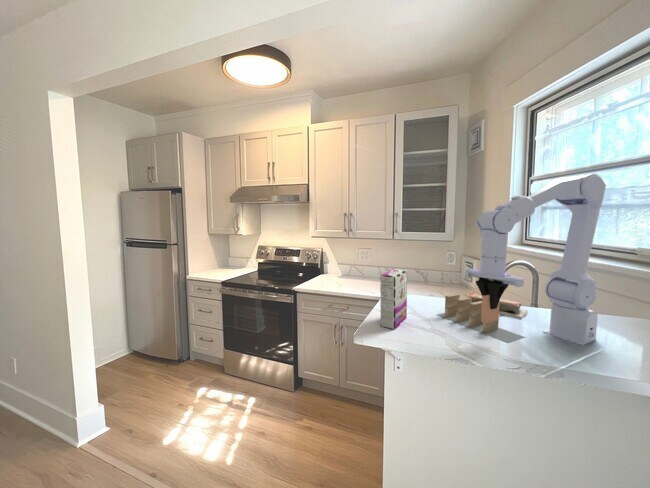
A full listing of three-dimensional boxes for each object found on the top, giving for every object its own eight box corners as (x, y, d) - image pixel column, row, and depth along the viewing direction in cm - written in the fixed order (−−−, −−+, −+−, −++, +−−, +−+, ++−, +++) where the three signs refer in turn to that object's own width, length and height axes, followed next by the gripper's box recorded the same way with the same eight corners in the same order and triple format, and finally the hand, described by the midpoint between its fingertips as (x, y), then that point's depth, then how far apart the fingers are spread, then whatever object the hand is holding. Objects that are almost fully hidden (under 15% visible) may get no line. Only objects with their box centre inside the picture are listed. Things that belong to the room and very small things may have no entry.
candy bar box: (392, 315, 98) (393, 268, 96) (406, 318, 95) (408, 269, 94) (379, 326, 89) (379, 274, 87) (394, 330, 86) (395, 276, 84)
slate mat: (525, 338, 80) (525, 337, 80) (507, 344, 76) (507, 343, 76) (452, 312, 101) (452, 311, 101) (435, 316, 98) (435, 314, 98)
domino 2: (470, 319, 93) (471, 298, 92) (460, 322, 91) (461, 300, 90) (466, 318, 94) (467, 297, 94) (456, 320, 92) (457, 299, 91)
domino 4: (498, 319, 77) (499, 294, 76) (486, 323, 75) (487, 297, 74) (493, 318, 78) (494, 293, 78) (481, 321, 76) (482, 295, 76)
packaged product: (463, 296, 105) (473, 290, 112) (463, 309, 106) (472, 303, 113) (522, 307, 93) (529, 300, 100) (521, 321, 93) (528, 314, 100)
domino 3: (483, 324, 89) (484, 302, 88) (472, 327, 87) (474, 304, 86) (479, 322, 90) (480, 300, 90) (468, 325, 88) (469, 303, 87)
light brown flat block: (498, 329, 85) (499, 306, 84) (487, 332, 83) (488, 308, 82) (493, 327, 86) (494, 304, 86) (482, 330, 84) (483, 307, 83)
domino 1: (458, 315, 97) (459, 294, 96) (448, 317, 95) (449, 296, 94) (455, 313, 98) (455, 293, 98) (444, 316, 96) (445, 295, 95)
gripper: (458, 254, 80) (456, 302, 81) (512, 262, 67) (509, 319, 68) (475, 252, 83) (473, 298, 84) (530, 259, 70) (526, 314, 71)
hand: (490, 307), depth 76 cm, fingers closed on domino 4, 1 cm apart
